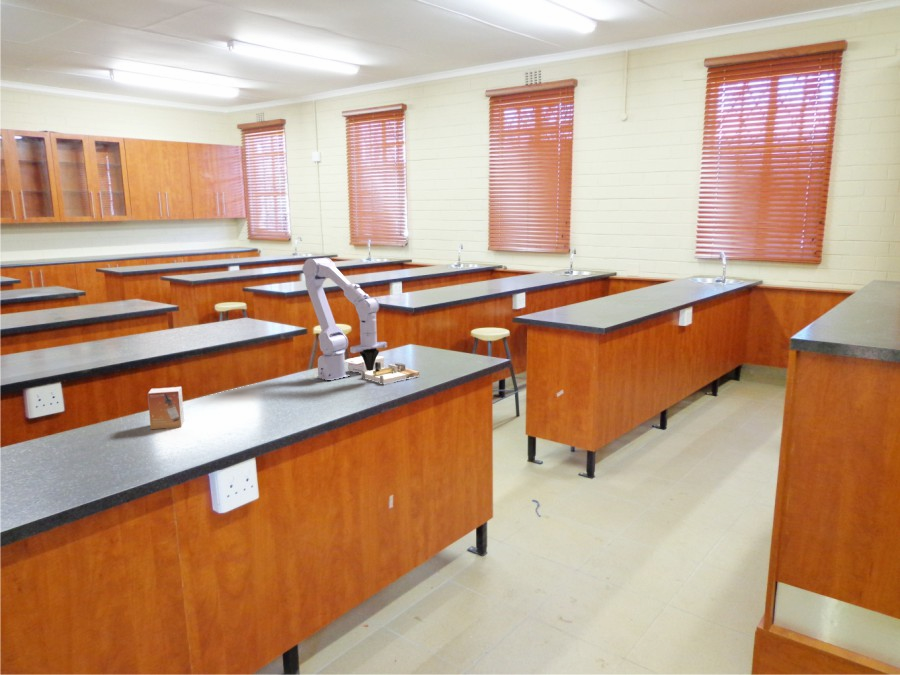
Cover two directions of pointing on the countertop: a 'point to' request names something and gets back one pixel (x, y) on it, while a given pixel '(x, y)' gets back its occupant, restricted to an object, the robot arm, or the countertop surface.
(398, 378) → the door board
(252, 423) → the countertop surface
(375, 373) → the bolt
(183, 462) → the countertop surface
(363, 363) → the ink cartridge box
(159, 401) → the small box
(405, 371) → the door jamb
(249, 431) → the countertop surface
